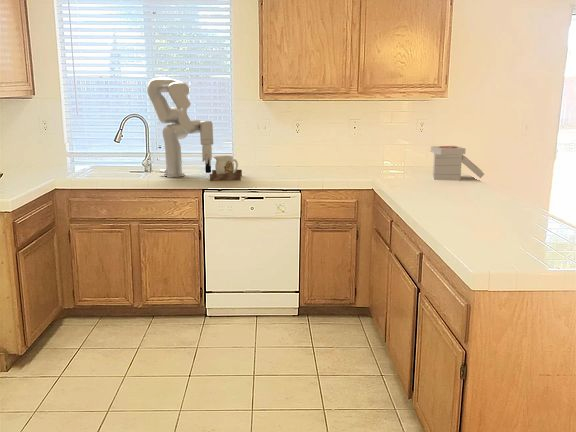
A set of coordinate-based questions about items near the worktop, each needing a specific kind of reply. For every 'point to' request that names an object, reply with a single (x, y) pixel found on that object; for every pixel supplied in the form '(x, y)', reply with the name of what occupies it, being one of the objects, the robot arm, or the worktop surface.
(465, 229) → the worktop surface
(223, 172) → the pitcher
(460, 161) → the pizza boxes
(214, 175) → the wooden planks
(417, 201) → the worktop surface
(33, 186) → the worktop surface
